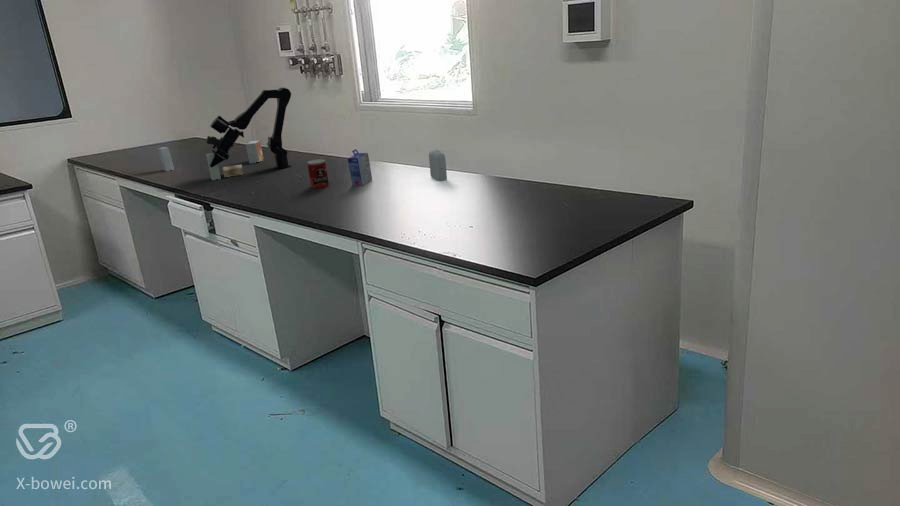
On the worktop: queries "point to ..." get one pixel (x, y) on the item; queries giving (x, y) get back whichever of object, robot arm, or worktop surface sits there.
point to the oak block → (233, 170)
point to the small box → (254, 151)
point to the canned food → (318, 173)
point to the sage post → (213, 170)
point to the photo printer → (437, 165)
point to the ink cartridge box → (359, 168)
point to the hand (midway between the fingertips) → (210, 165)
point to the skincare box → (165, 158)
